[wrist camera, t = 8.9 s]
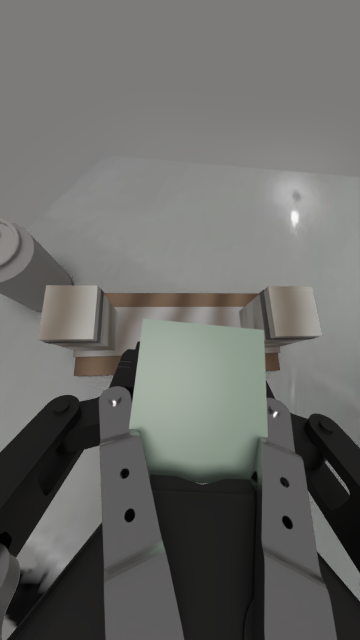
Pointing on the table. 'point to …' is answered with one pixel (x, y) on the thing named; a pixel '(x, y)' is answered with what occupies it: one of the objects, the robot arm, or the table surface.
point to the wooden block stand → (168, 319)
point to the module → (200, 399)
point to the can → (26, 267)
